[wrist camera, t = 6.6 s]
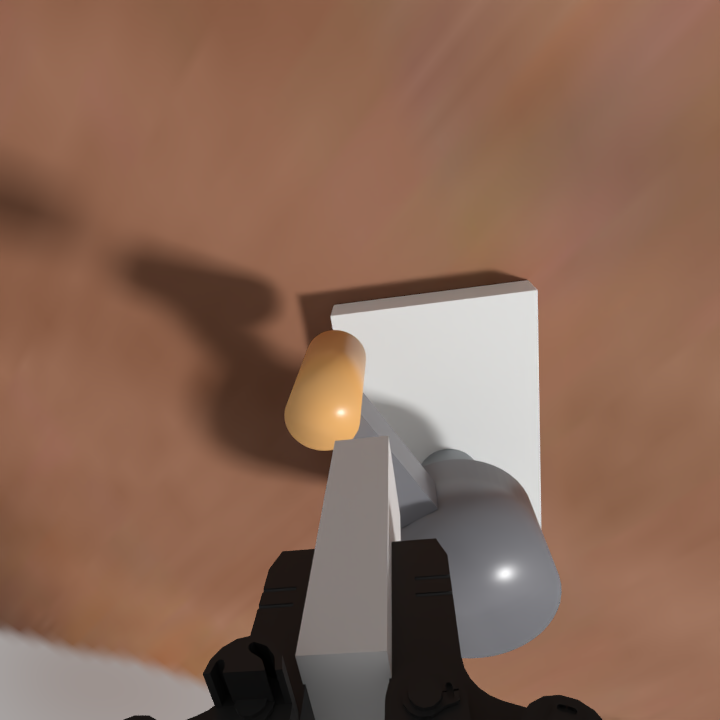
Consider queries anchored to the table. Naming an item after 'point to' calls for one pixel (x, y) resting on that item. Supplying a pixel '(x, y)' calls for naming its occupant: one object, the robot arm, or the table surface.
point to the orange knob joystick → (440, 505)
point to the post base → (456, 374)
